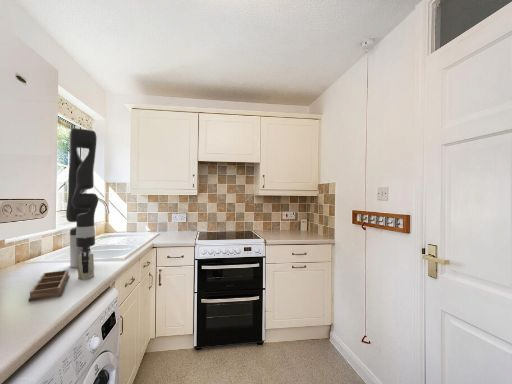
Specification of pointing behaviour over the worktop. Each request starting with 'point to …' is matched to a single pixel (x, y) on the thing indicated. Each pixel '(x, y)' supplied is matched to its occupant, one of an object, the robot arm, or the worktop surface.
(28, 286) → the worktop surface
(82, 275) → the box
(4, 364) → the worktop surface
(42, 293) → the tray
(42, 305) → the worktop surface
